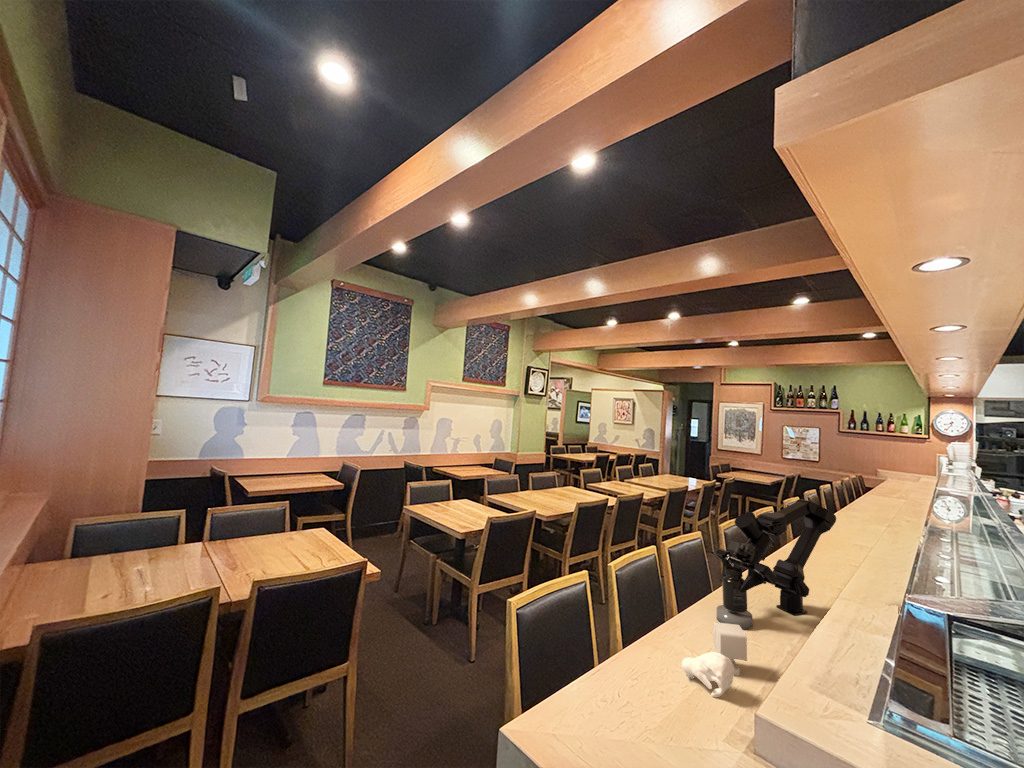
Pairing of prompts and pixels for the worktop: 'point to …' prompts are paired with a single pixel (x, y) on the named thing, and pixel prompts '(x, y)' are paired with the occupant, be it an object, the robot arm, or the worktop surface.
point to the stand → (734, 617)
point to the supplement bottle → (734, 590)
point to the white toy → (710, 671)
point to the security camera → (730, 642)
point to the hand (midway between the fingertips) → (731, 587)
